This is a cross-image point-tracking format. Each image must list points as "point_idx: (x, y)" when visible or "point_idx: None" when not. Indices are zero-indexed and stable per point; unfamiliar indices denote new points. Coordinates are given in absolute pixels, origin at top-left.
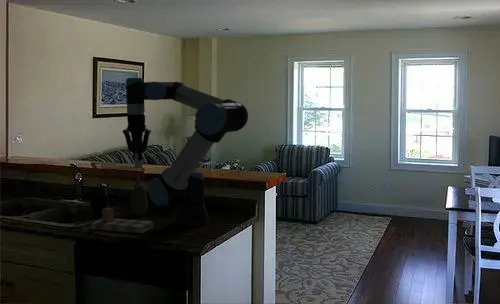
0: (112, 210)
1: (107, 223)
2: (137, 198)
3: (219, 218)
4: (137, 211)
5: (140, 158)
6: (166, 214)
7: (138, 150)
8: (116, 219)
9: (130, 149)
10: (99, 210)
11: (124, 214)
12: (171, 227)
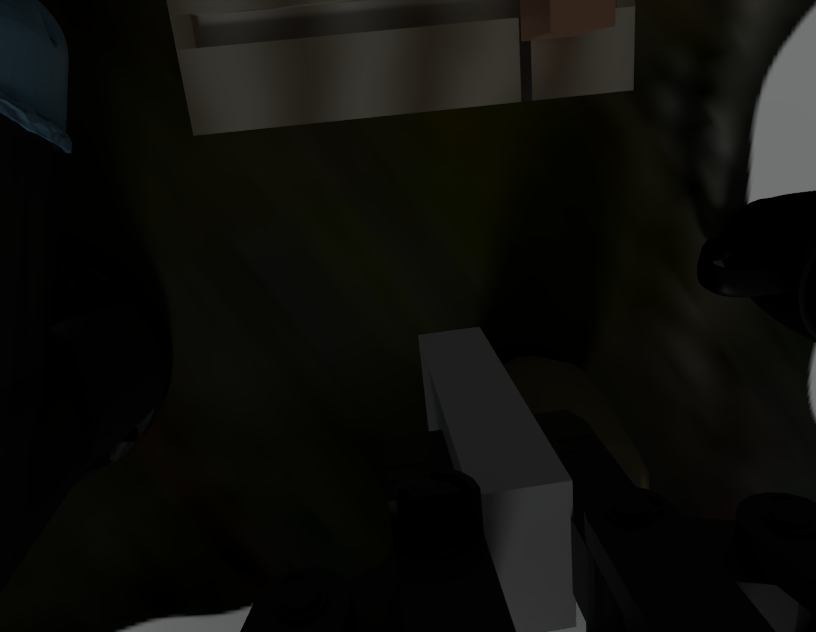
0: (543, 20)
1: None
2: (545, 409)
3: None
4: (518, 362)
5: (396, 462)
6: (356, 466)
7: (458, 576)
8: (513, 74)
9: (779, 543)
10: (769, 207)
11: (628, 359)
12: (77, 178)
